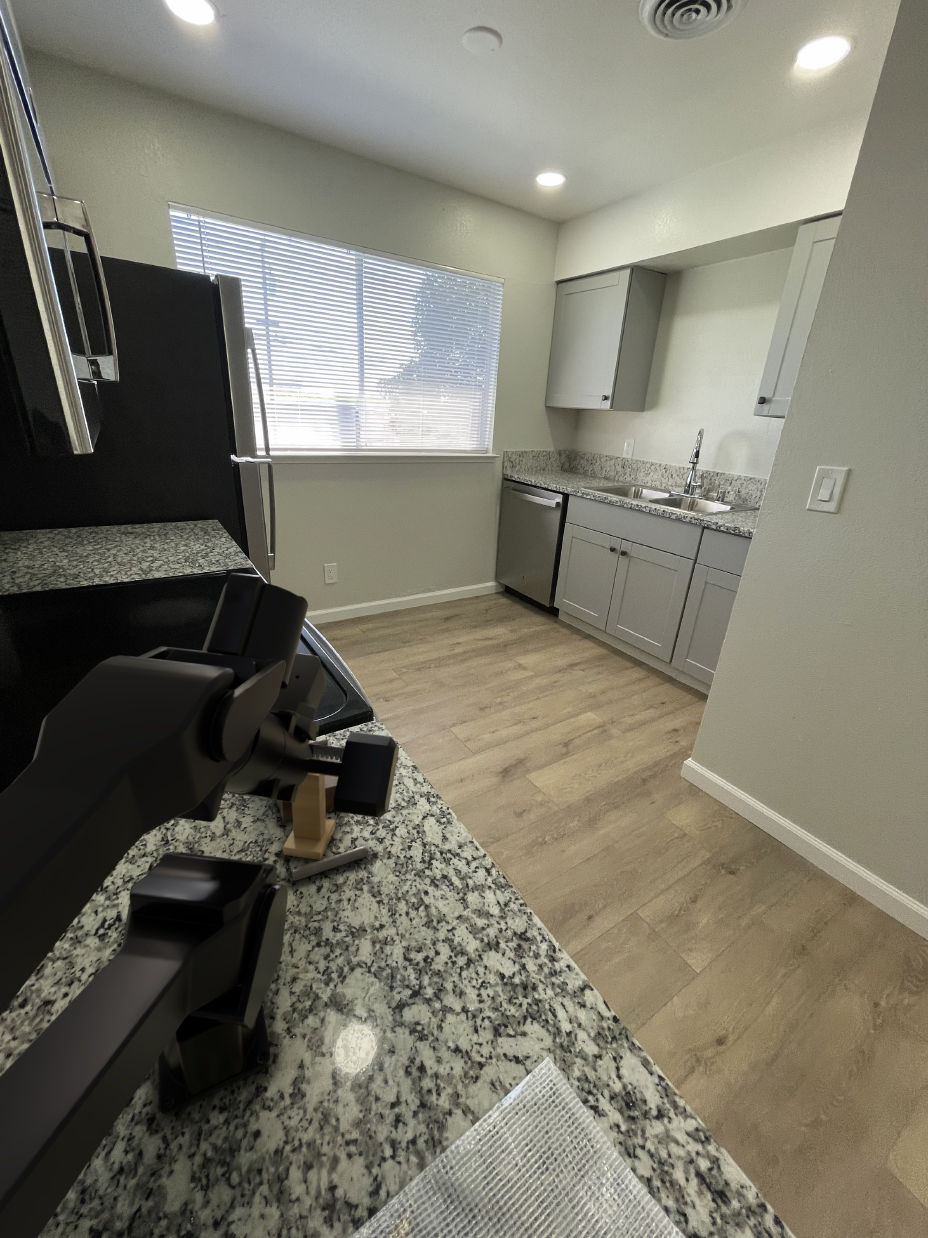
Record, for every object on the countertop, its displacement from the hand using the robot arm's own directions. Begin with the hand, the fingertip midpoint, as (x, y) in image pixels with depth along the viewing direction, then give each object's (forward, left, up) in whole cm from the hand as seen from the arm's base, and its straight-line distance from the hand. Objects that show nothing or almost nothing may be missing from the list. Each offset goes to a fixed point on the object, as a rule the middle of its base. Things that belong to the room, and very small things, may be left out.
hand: (308, 774), depth 49 cm
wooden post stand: (0, 0, -8) cm, 8 cm away
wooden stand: (+3, -1, -8) cm, 9 cm away
